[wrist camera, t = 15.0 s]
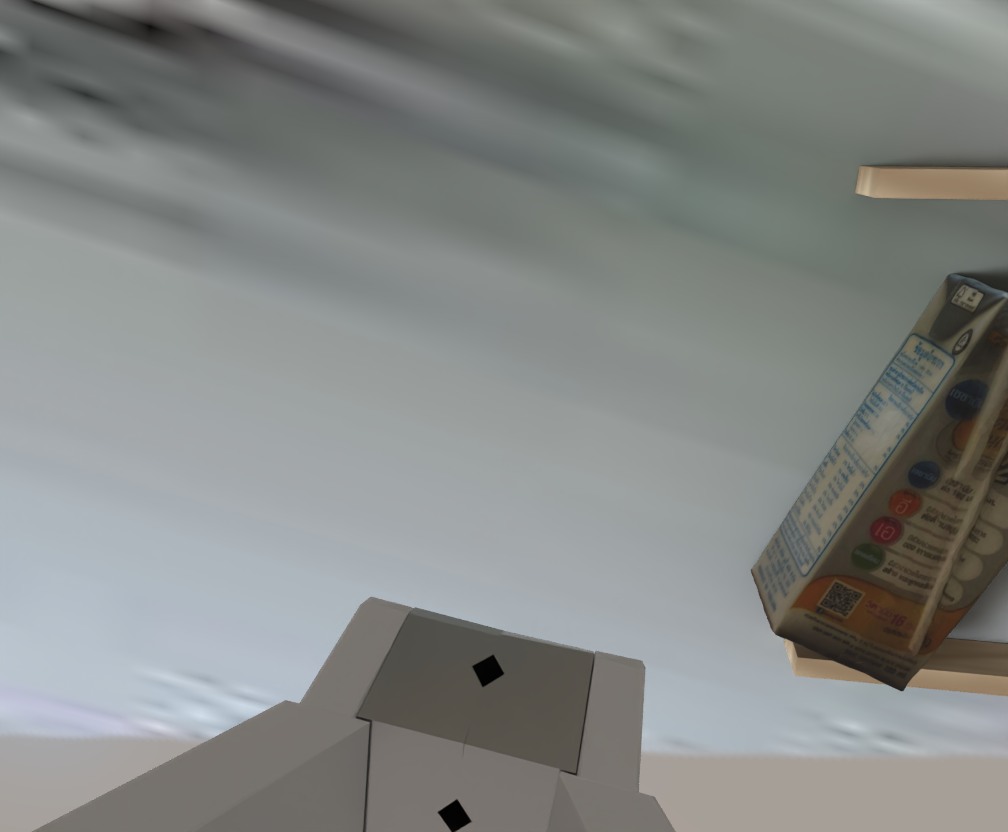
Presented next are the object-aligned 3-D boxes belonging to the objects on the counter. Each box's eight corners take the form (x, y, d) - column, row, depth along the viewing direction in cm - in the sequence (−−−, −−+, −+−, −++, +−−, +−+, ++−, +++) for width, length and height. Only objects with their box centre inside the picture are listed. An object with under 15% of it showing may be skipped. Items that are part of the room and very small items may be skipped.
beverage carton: (1096, 335, 36) (1192, 376, 30) (867, 629, 44) (907, 710, 37) (947, 265, 36) (1013, 292, 30) (742, 571, 43) (761, 643, 37)
